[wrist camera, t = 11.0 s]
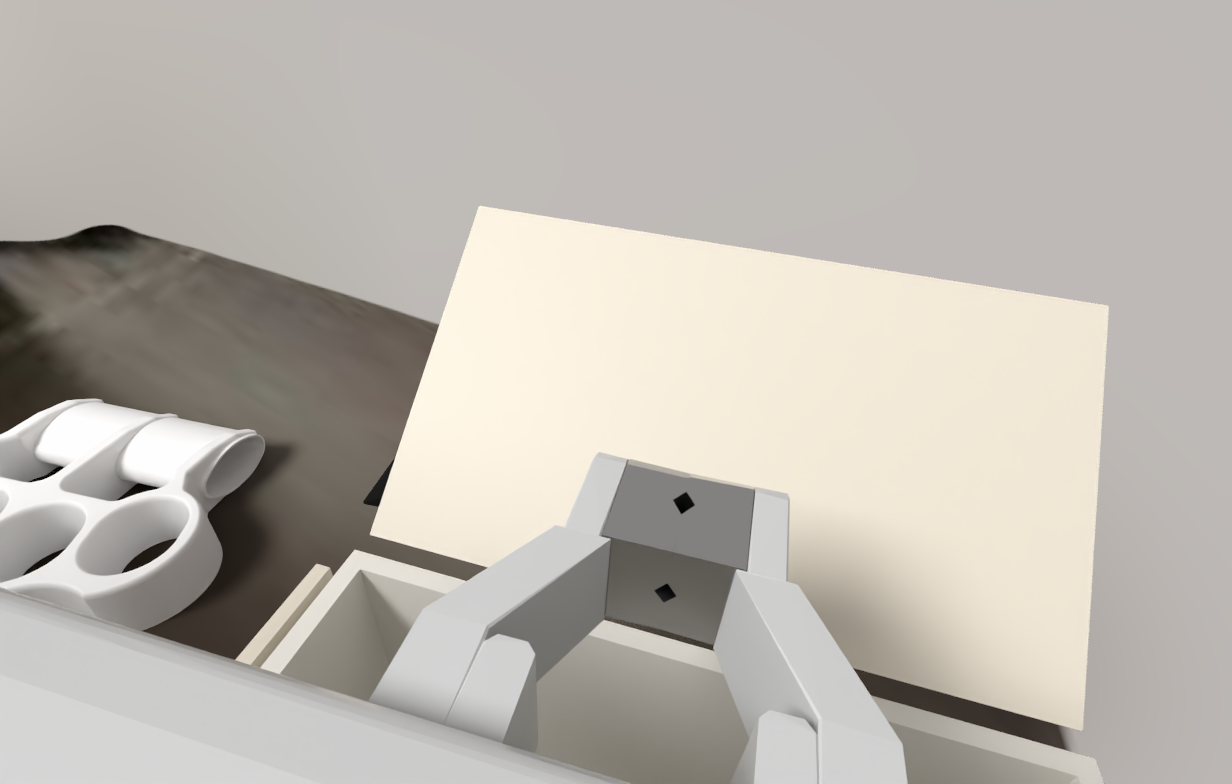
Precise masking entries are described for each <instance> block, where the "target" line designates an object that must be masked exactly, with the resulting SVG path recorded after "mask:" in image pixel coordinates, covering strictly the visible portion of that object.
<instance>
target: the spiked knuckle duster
mask: <svg viewBox="0 0 1232 784" xmlns="http://www.w3.org/2000/svg"><path fill="white" fill-rule="evenodd" d="M264 451H265V441H264V438H263V437H262V436H261V435H258V434H257V433H256V431H254V430H249V429H244V430H234V429H229V428H224V427H219V426H214V425H209V424H204V423H199V422H194V421H189V420H184V419H180V418H178V416H177V415H174V414H155V413H150V412H145V411H140V410H135V409H130V408H125V407H120V406H115V405H110V404H105V403H103V401H102V400H99V399H78V400H67V401H65V402H63V403H60V404H58V405H55V406H53V407H51V408H49V409H46V410H44V411H42V412H39V413H37V414H35V415H34V416H32V417H30V418H29V419H27V420H25V421H24V422H22V423H20V424H19V425H17V426H15V427H14V428H12V429H11V430H9V431H7V432H5V433H3V434H0V587H1V588H4V589H7V590H11V591H14V592H17V593H20V594H24V595H27V596H30V597H33V598H36V599H40V600H43V601H46V602H49V603H52V604H56V605H59V606H62V607H65V608H69V609H72V610H75V611H78V612H81V613H85V614H88V615H91V616H94V617H98V618H101V619H104V620H107V621H110V622H114V623H117V624H120V625H123V626H127V627H130V628H133V629H136V630H139V631H142V630H145V629H148V628H150V627H153V626H155V625H157V624H159V623H162V622H164V621H165V620H167V619H169V618H171V617H173V616H174V615H176V614H177V613H179V612H181V611H182V610H183V609H185V608H186V607H188V606H189V605H190V604H191V603H193V602H194V601H195V600H196V599H197V598H198V597H199V596H200V595H201V594H202V593H203V592H204V591H205V590H206V589H207V588H208V587H209V585H210V584H211V583H212V581H213V580H214V578H215V577H216V575H217V573H218V571H219V569H220V566H221V562H222V557H223V552H222V547H221V544H220V542H219V540H218V538H217V536H216V534H215V532H214V530H213V528H212V526H211V524H210V522H209V520H208V518H207V516H208V512H209V511H210V510H211V509H212V508H213V507H214V506H215V505H216V504H217V503H218V502H220V501H221V500H222V499H223V498H224V497H225V496H226V495H227V494H229V493H231V492H233V491H234V490H236V489H237V488H238V487H239V486H240V485H241V484H242V483H243V482H244V481H245V480H247V479H248V478H249V476H250V475H251V474H252V473H253V471H254V470H255V468H256V467H257V465H258V464H259V462H260V460H261V458H262V456H263V454H264ZM58 466H62V467H64V468H63V469H62V470H60V471H59V472H57V473H56V474H54V475H52V476H50V477H48V478H46V479H43V480H40V481H35V482H28V481H31V480H33V479H36V478H39V477H42V476H45V475H47V474H48V473H50V472H51V471H52V470H54V469H55V468H57V467H58ZM137 483H140V484H145V485H150V486H154V487H159V488H158V489H155V490H150V491H146V492H142V493H138V494H135V495H132V496H130V497H127V498H125V499H122V500H118V501H116V500H117V499H119V498H120V497H121V496H122V495H124V494H125V493H126V492H127V491H128V490H130V489H131V488H132V487H133V486H135V485H136V484H137ZM175 538H178V539H177V540H176V541H175V543H174V544H173V545H172V546H171V547H170V548H169V549H168V550H167V551H166V552H165V553H163V554H162V555H161V556H159V557H158V558H156V559H155V560H153V561H151V562H150V563H148V564H146V565H144V566H142V567H139V568H137V569H134V570H132V571H129V572H125V573H121V572H122V571H123V570H124V568H125V567H126V566H127V564H128V563H129V562H130V561H131V560H132V559H133V558H135V557H136V556H137V555H138V554H140V553H141V552H143V551H144V550H146V549H148V548H149V547H151V546H153V545H156V544H158V543H161V542H163V541H167V540H170V539H175ZM64 548H66V549H65V550H64V551H63V552H62V553H61V554H60V555H59V556H57V557H56V558H55V559H53V560H52V561H50V562H49V563H47V564H46V565H44V566H43V567H41V568H39V569H37V570H35V571H33V572H31V573H29V574H27V575H24V576H22V575H23V574H24V573H25V572H26V571H27V570H28V569H29V568H30V567H31V566H32V565H34V564H35V563H37V562H38V561H40V560H41V559H43V558H44V557H46V556H48V555H50V554H52V553H54V552H57V551H59V550H62V549H64ZM21 576H22V577H21Z"/></svg>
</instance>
